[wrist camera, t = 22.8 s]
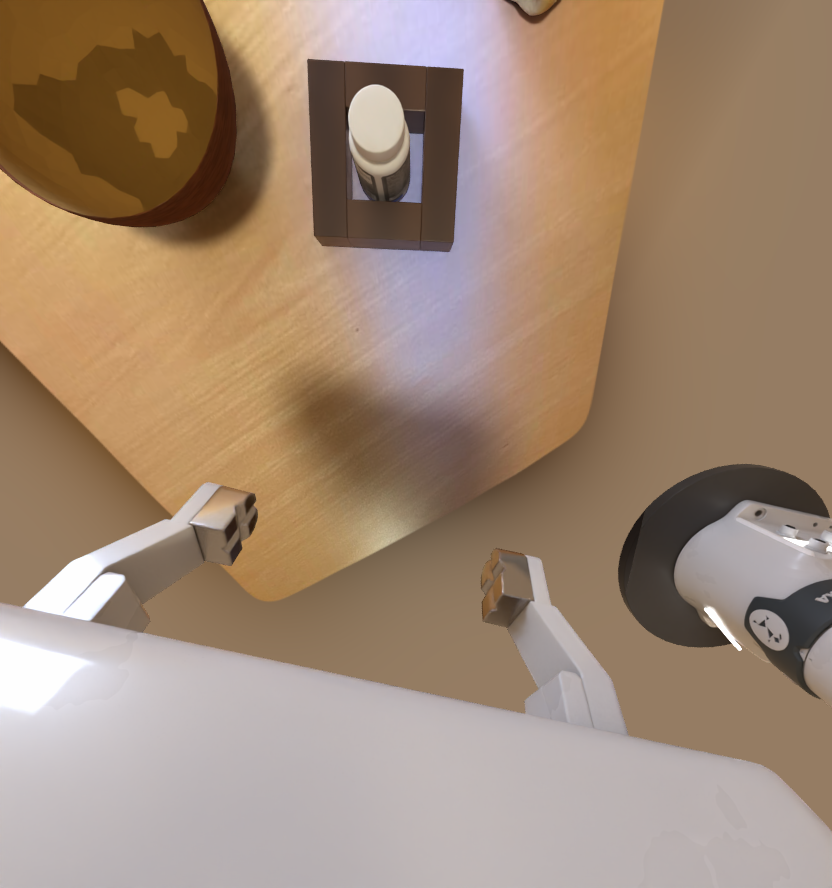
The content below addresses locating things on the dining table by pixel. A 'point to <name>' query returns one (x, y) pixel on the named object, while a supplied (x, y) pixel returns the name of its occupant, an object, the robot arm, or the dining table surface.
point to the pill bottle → (380, 143)
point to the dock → (334, 212)
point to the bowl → (116, 107)
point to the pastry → (535, 6)
